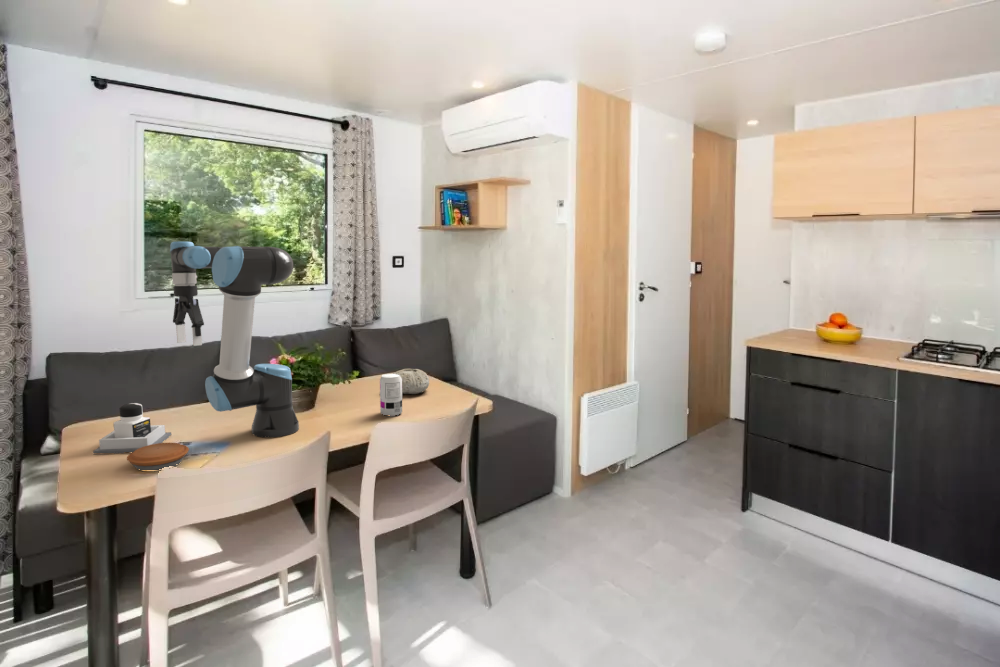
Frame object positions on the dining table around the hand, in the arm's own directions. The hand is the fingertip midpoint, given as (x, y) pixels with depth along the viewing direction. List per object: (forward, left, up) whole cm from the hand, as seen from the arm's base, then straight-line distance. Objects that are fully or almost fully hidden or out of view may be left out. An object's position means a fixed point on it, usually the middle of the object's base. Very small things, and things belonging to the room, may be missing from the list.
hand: (189, 343), depth 207 cm
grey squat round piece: (-29, -78, -28) cm, 88 cm away
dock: (-16, +25, -28) cm, 40 cm away
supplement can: (-49, -52, -28) cm, 77 cm away
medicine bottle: (-16, +25, -27) cm, 40 cm away
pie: (-40, +26, -28) cm, 55 cm away
